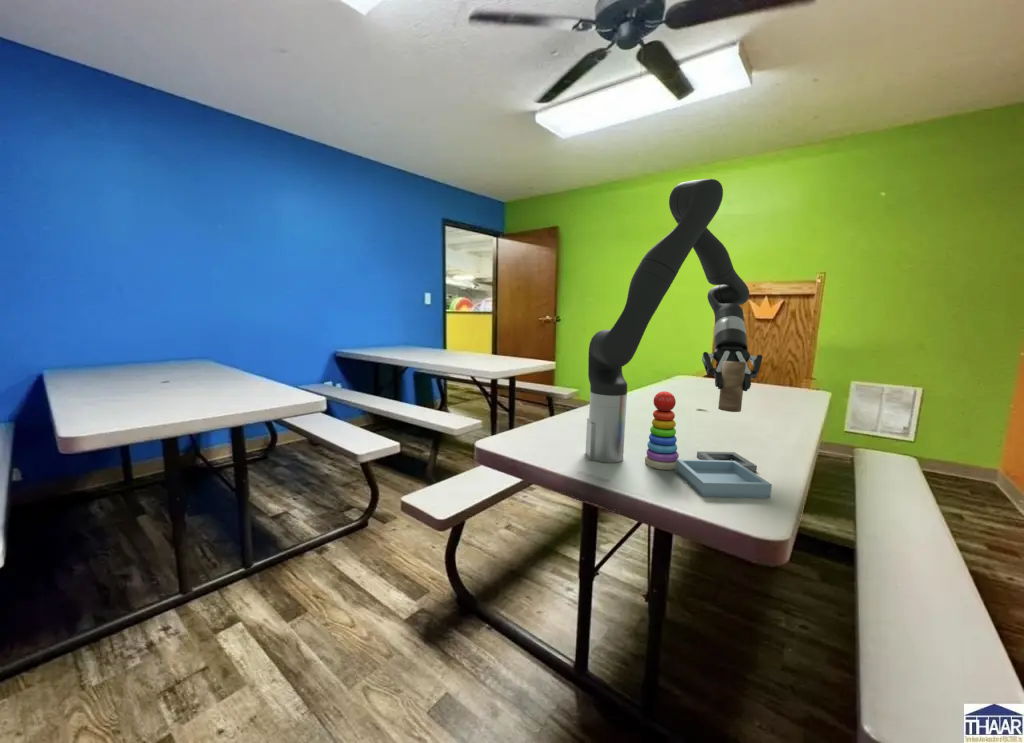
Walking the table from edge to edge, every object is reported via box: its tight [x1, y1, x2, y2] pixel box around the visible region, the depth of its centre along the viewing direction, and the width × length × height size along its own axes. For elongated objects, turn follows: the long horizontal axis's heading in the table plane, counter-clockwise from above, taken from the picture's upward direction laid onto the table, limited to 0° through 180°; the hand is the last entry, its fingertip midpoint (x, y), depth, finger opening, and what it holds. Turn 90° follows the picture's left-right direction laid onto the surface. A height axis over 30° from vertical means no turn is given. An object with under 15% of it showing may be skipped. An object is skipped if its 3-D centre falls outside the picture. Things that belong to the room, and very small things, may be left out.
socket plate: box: [696, 451, 758, 473], centre depth 104 cm, size 10×10×2 cm
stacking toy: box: [644, 391, 680, 471], centre depth 101 cm, size 8×8×19 cm
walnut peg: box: [717, 361, 747, 413], centre depth 101 cm, size 5×5×12 cm
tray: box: [675, 458, 772, 499], centre depth 91 cm, size 14×14×3 cm
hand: (733, 388), depth 99 cm, fingers closed on walnut peg, 5 cm apart
